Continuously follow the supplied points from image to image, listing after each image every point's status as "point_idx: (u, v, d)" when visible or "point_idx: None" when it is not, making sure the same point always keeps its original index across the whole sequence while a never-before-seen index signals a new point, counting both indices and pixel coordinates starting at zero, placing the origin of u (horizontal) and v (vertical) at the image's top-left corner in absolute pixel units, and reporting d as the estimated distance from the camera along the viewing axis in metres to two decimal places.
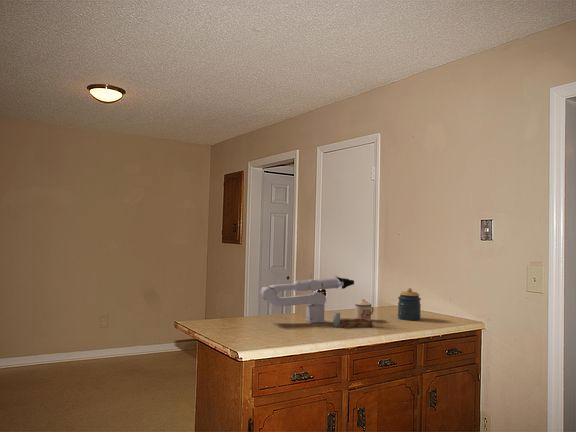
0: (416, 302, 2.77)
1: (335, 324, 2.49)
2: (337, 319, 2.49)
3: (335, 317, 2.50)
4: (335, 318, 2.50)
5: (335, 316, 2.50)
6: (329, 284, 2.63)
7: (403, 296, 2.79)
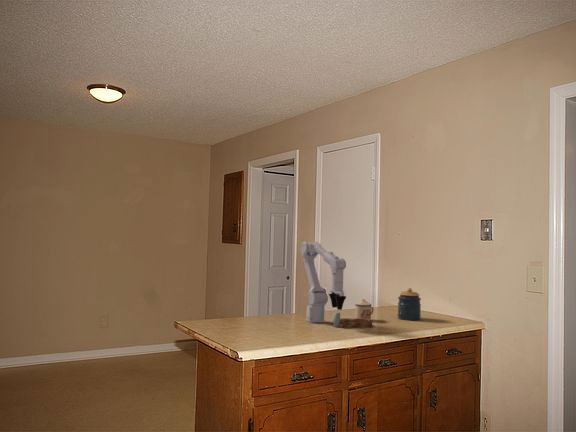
0: (416, 302, 2.77)
1: (335, 324, 2.49)
2: (337, 319, 2.49)
3: (335, 317, 2.50)
4: (335, 318, 2.50)
5: (335, 316, 2.50)
6: None
7: (403, 296, 2.79)
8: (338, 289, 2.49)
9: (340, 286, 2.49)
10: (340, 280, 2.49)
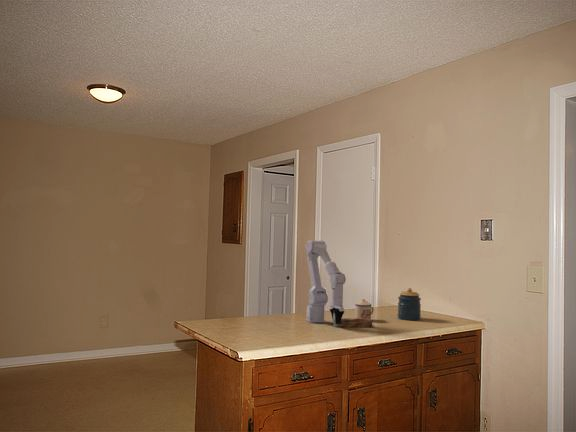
0: (416, 302, 2.77)
1: (335, 324, 2.49)
2: None
3: None
4: None
5: None
6: None
7: (403, 296, 2.79)
8: (338, 304, 2.49)
9: (340, 301, 2.49)
10: (340, 295, 2.49)
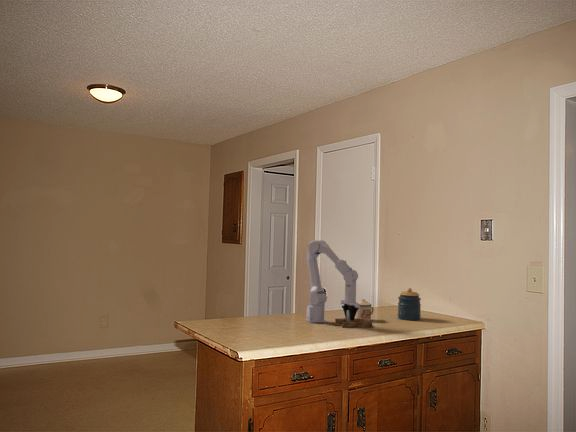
0: (416, 302, 2.77)
1: (349, 321, 2.52)
2: None
3: (349, 314, 2.52)
4: (349, 315, 2.52)
5: None
6: None
7: (403, 296, 2.79)
8: (352, 301, 2.52)
9: (354, 298, 2.52)
10: (355, 292, 2.53)
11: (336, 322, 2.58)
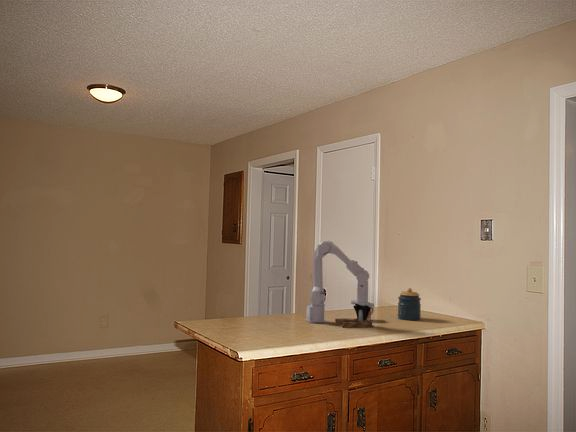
0: (416, 302, 2.77)
1: (362, 321, 2.54)
2: None
3: (362, 314, 2.54)
4: (362, 315, 2.54)
5: (362, 313, 2.54)
6: None
7: (403, 296, 2.79)
8: (365, 301, 2.53)
9: (367, 297, 2.54)
10: (367, 292, 2.55)
11: (336, 322, 2.58)
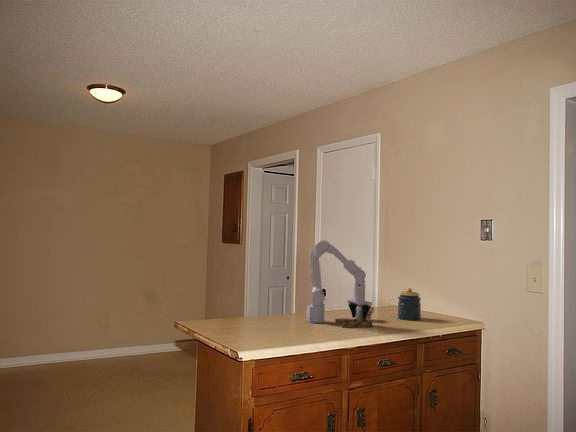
0: (416, 302, 2.77)
1: (359, 321, 2.58)
2: (361, 316, 2.58)
3: (359, 314, 2.58)
4: (359, 315, 2.58)
5: (359, 313, 2.58)
6: None
7: (403, 296, 2.79)
8: (363, 299, 2.58)
9: (364, 296, 2.58)
10: (364, 290, 2.59)
11: (336, 322, 2.58)
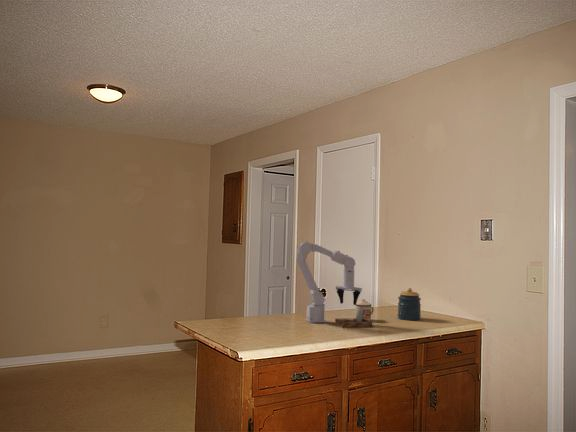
0: (416, 302, 2.77)
1: (359, 321, 2.58)
2: (361, 316, 2.58)
3: (359, 314, 2.58)
4: (359, 315, 2.58)
5: (359, 313, 2.58)
6: None
7: (403, 296, 2.79)
8: (353, 285, 2.63)
9: (353, 282, 2.64)
10: None
11: (336, 322, 2.58)
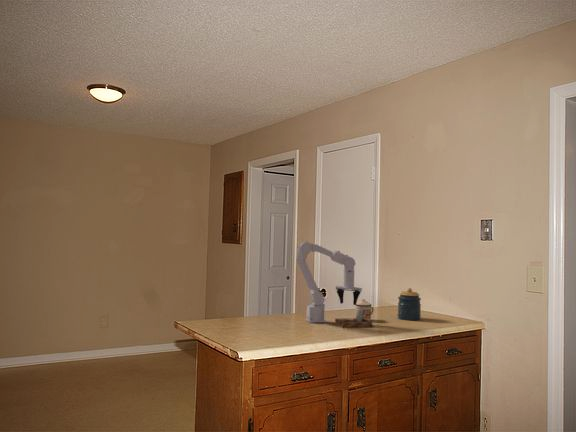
0: (416, 302, 2.77)
1: (359, 321, 2.58)
2: (361, 316, 2.58)
3: (359, 314, 2.58)
4: (359, 315, 2.58)
5: (359, 313, 2.58)
6: None
7: (403, 296, 2.79)
8: (353, 285, 2.63)
9: (353, 282, 2.64)
10: None
11: (336, 322, 2.58)
